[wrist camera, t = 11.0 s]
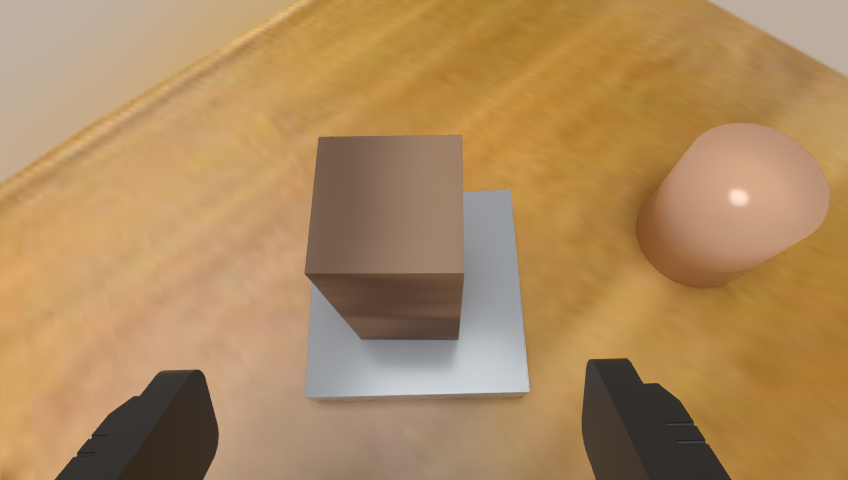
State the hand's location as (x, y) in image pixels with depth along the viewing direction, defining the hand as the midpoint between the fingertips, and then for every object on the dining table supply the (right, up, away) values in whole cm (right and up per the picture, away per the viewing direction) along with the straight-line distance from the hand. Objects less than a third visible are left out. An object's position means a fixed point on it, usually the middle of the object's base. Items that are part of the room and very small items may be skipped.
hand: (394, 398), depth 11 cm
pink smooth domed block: (+15, +4, +17) cm, 23 cm away
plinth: (0, 0, +17) cm, 17 cm away
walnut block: (0, +1, +14) cm, 14 cm away
